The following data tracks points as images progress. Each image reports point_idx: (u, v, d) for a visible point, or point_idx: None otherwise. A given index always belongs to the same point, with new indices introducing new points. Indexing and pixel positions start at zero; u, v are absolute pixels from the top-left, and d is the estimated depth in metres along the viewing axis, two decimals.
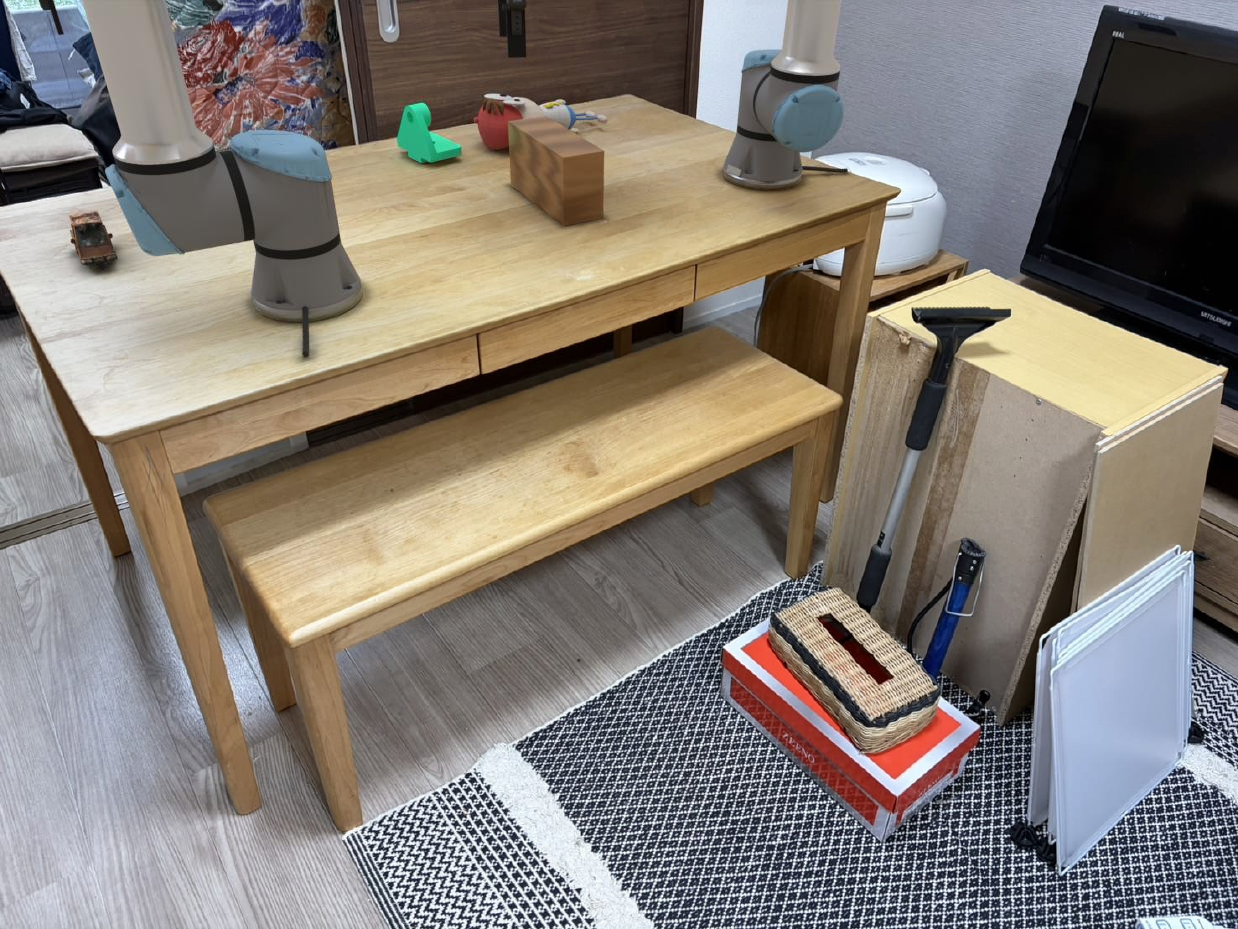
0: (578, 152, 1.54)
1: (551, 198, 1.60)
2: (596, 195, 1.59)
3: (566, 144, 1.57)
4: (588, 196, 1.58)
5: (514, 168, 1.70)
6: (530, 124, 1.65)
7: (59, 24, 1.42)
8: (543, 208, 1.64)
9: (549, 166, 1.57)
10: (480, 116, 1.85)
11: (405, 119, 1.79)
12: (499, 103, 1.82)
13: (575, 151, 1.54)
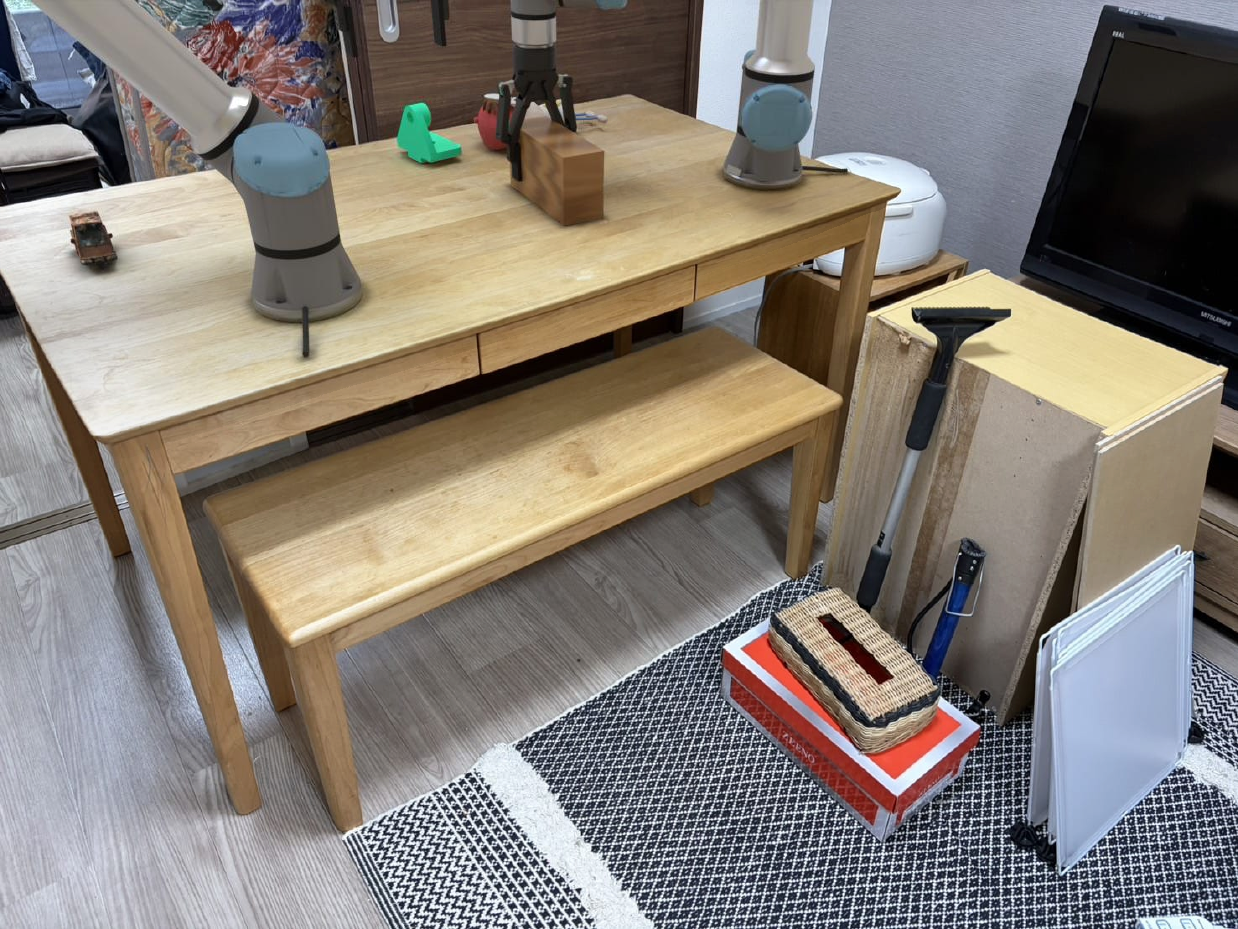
0: (578, 152, 1.54)
1: (551, 198, 1.60)
2: (596, 195, 1.59)
3: (566, 144, 1.57)
4: (588, 196, 1.58)
5: None
6: (530, 124, 1.65)
7: (355, 46, 1.31)
8: (543, 208, 1.64)
9: (549, 166, 1.57)
10: (480, 116, 1.85)
11: (405, 119, 1.79)
12: None
13: (575, 151, 1.54)
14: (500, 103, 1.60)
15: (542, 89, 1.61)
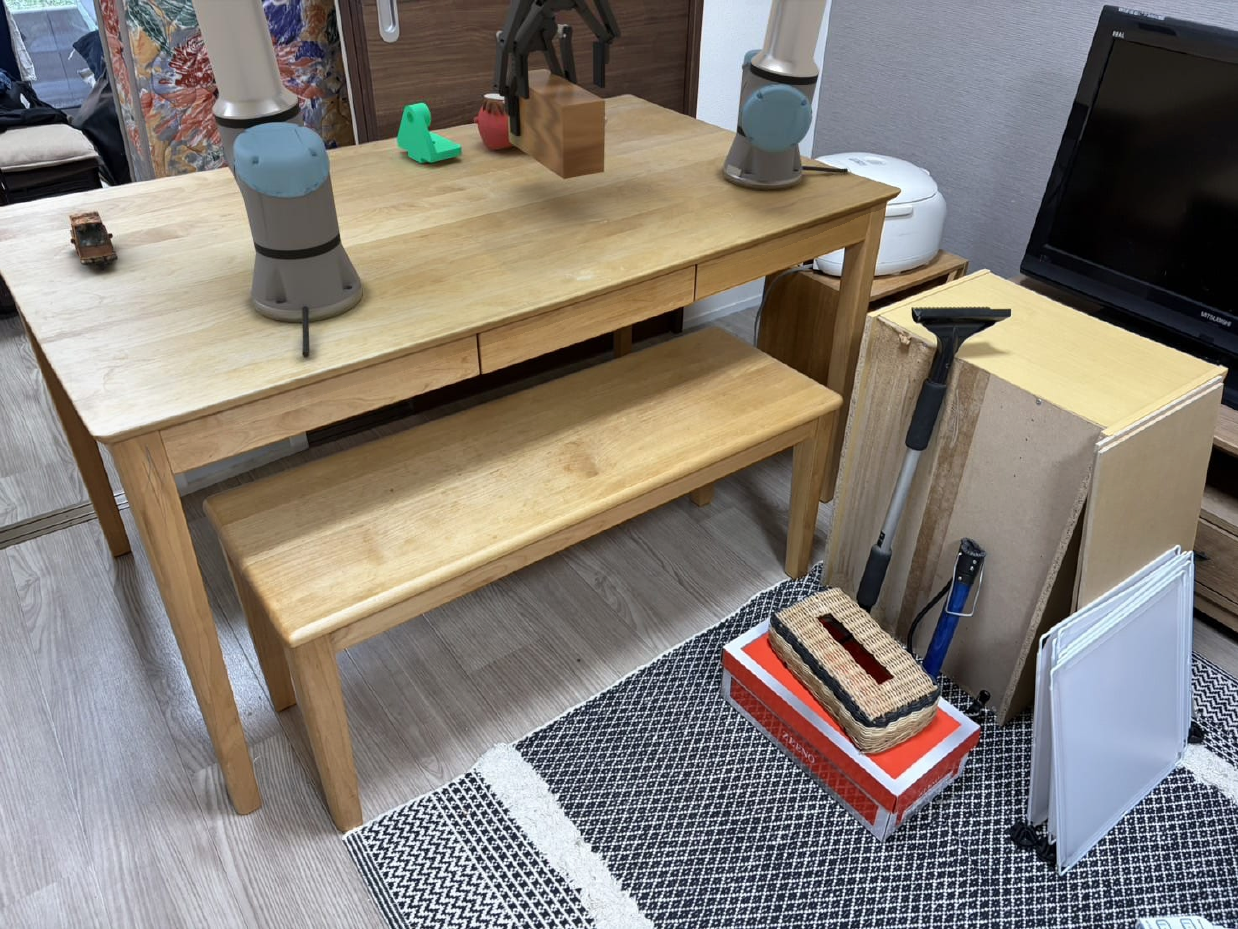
0: (578, 101, 1.49)
1: (550, 151, 1.55)
2: (596, 147, 1.54)
3: (566, 94, 1.52)
4: (588, 148, 1.53)
5: None
6: (528, 76, 1.60)
7: (527, 89, 1.44)
8: (542, 162, 1.59)
9: (549, 117, 1.52)
10: (480, 116, 1.85)
11: (405, 119, 1.79)
12: (499, 103, 1.82)
13: (575, 100, 1.49)
14: (498, 53, 1.55)
15: (541, 39, 1.56)
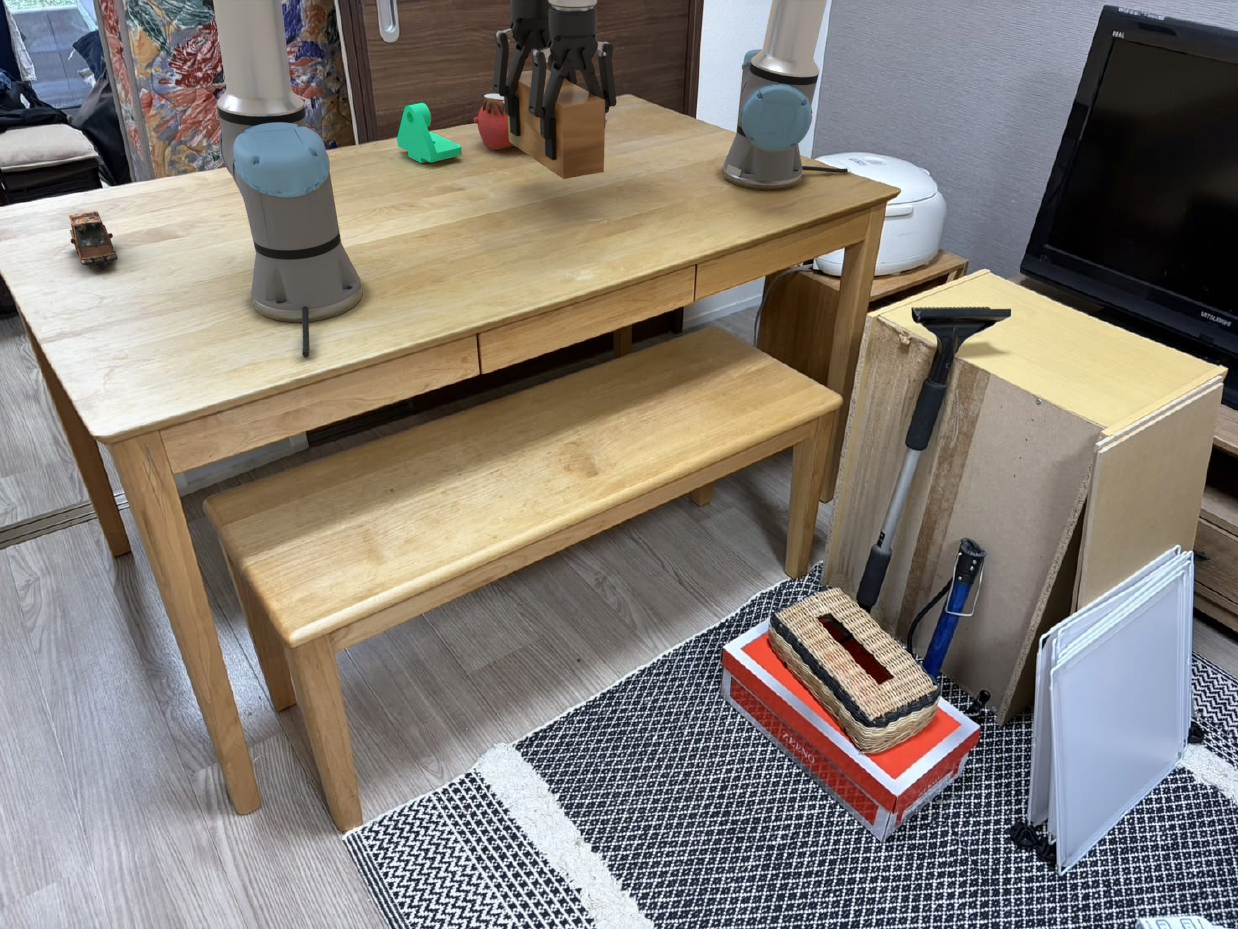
0: (577, 101, 1.49)
1: None
2: (596, 147, 1.54)
3: (566, 94, 1.52)
4: (588, 148, 1.53)
5: None
6: (528, 76, 1.60)
7: (555, 151, 1.53)
8: (542, 162, 1.59)
9: None
10: (480, 116, 1.85)
11: (405, 119, 1.79)
12: (499, 103, 1.82)
13: (575, 100, 1.49)
14: (498, 53, 1.55)
15: (541, 39, 1.56)
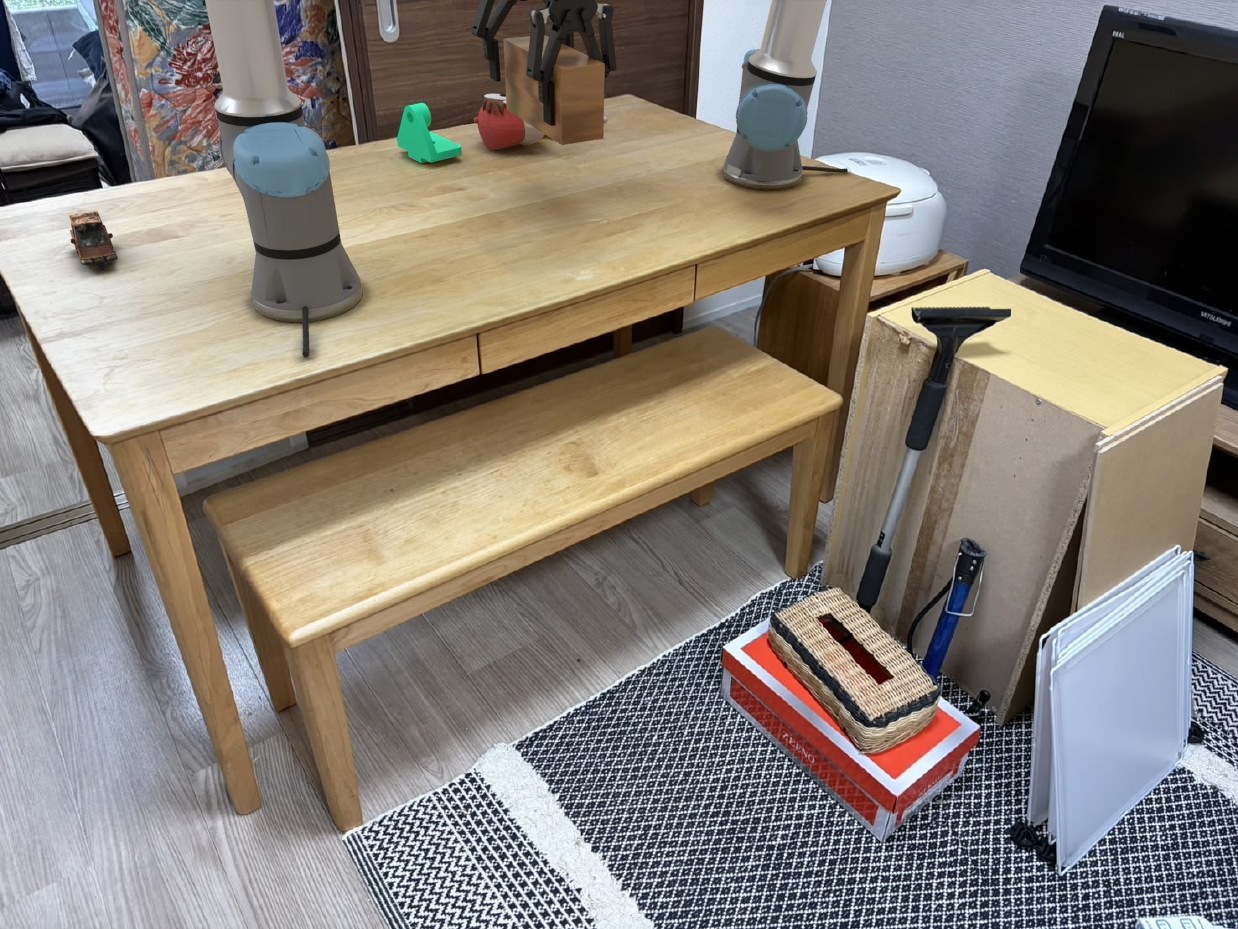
0: (577, 64, 1.45)
1: None
2: (596, 112, 1.50)
3: (564, 58, 1.48)
4: (587, 113, 1.50)
5: (510, 90, 1.61)
6: (526, 41, 1.57)
7: (553, 116, 1.50)
8: (540, 129, 1.55)
9: None
10: (480, 116, 1.85)
11: (405, 119, 1.79)
12: (499, 103, 1.82)
13: (574, 63, 1.46)
14: None
15: None
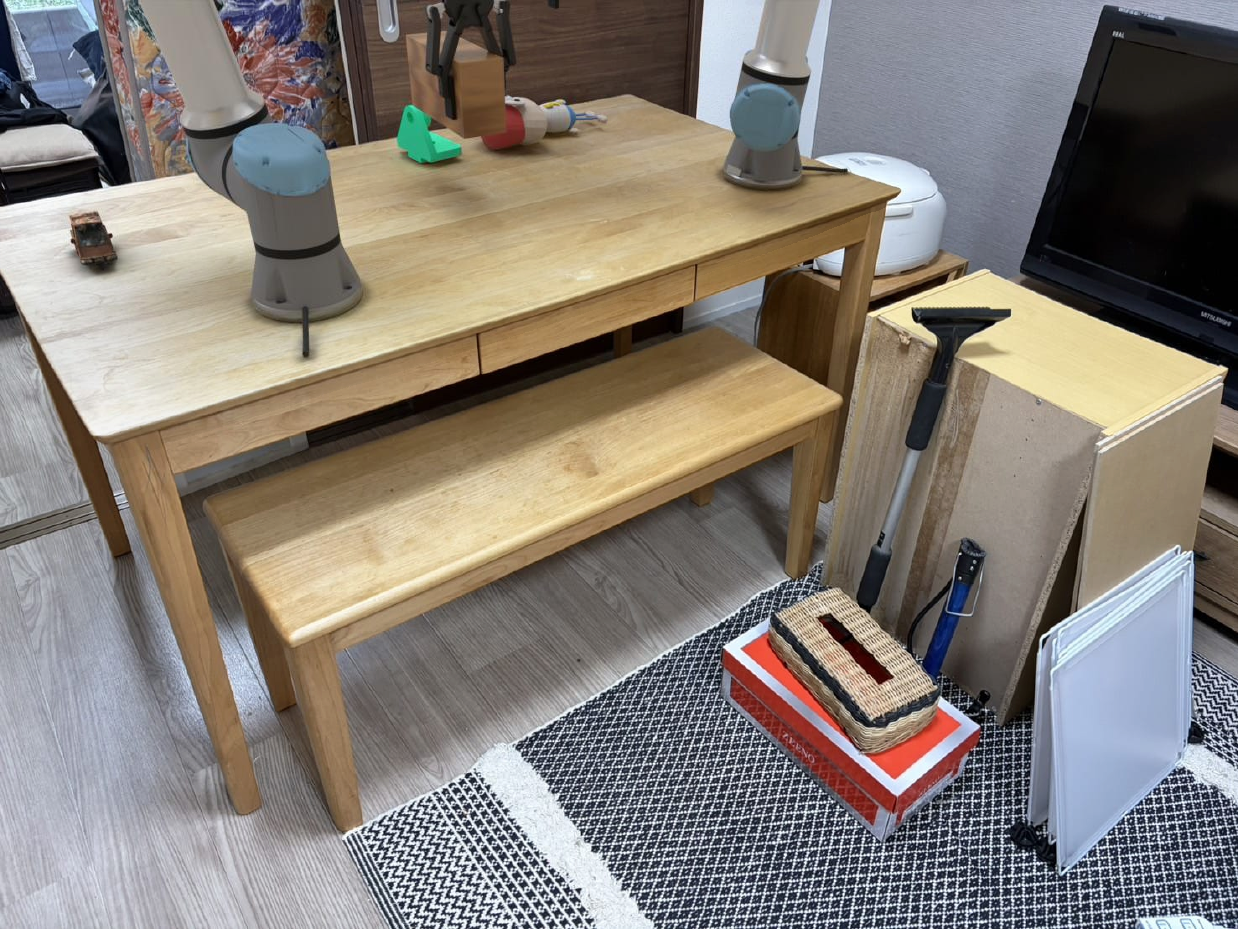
0: (475, 59, 1.47)
1: None
2: (497, 106, 1.52)
3: (464, 53, 1.50)
4: (489, 107, 1.52)
5: (414, 85, 1.63)
6: None
7: (455, 110, 1.51)
8: (444, 124, 1.57)
9: None
10: None
11: (405, 119, 1.79)
12: None
13: (472, 58, 1.48)
14: None
15: None
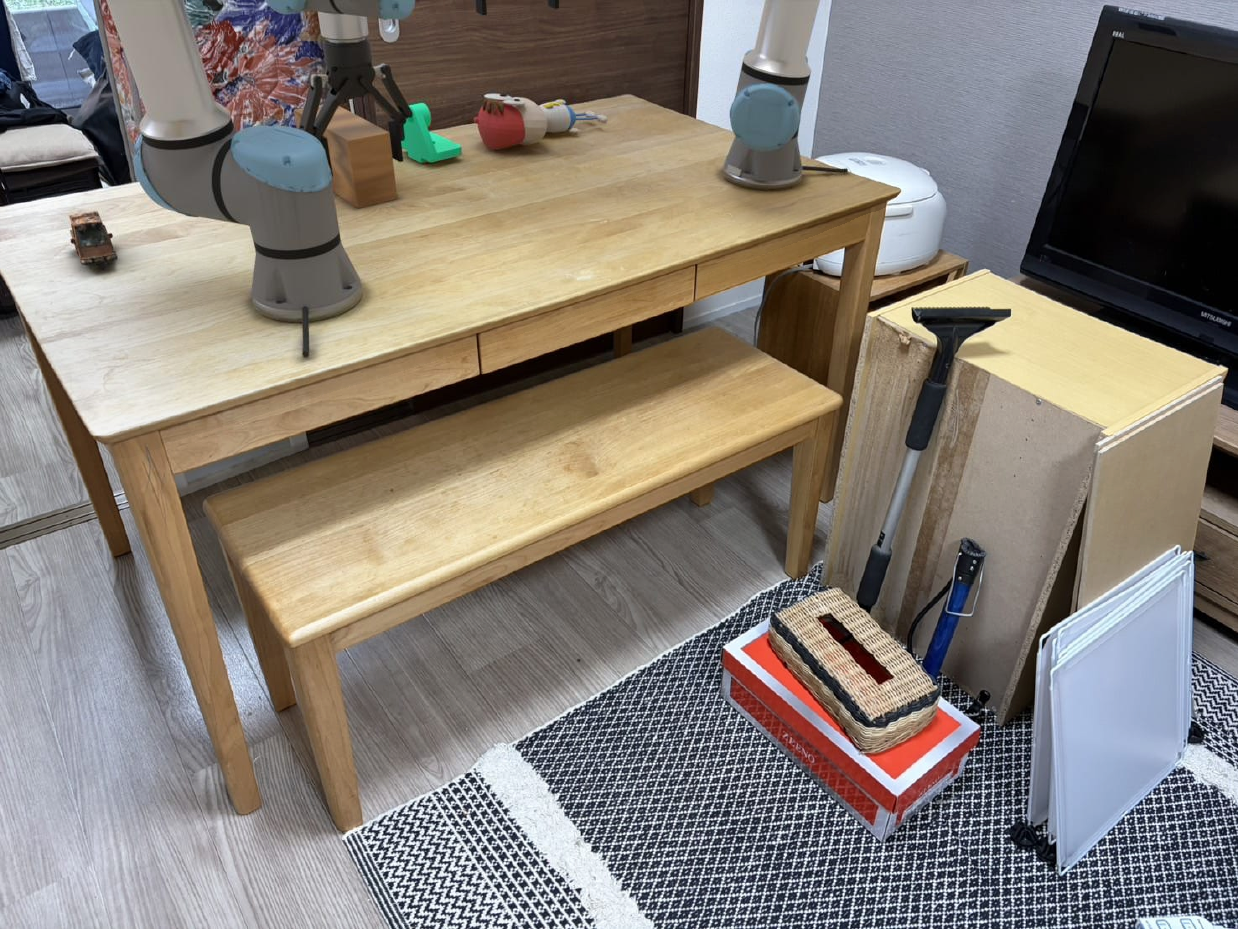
0: (363, 135, 1.58)
1: (343, 182, 1.63)
2: (387, 176, 1.63)
3: (352, 128, 1.61)
4: (379, 178, 1.62)
5: None
6: None
7: (330, 168, 1.58)
8: (337, 193, 1.67)
9: (337, 151, 1.60)
10: (480, 116, 1.85)
11: None
12: (499, 103, 1.82)
13: (360, 134, 1.58)
14: None
15: None
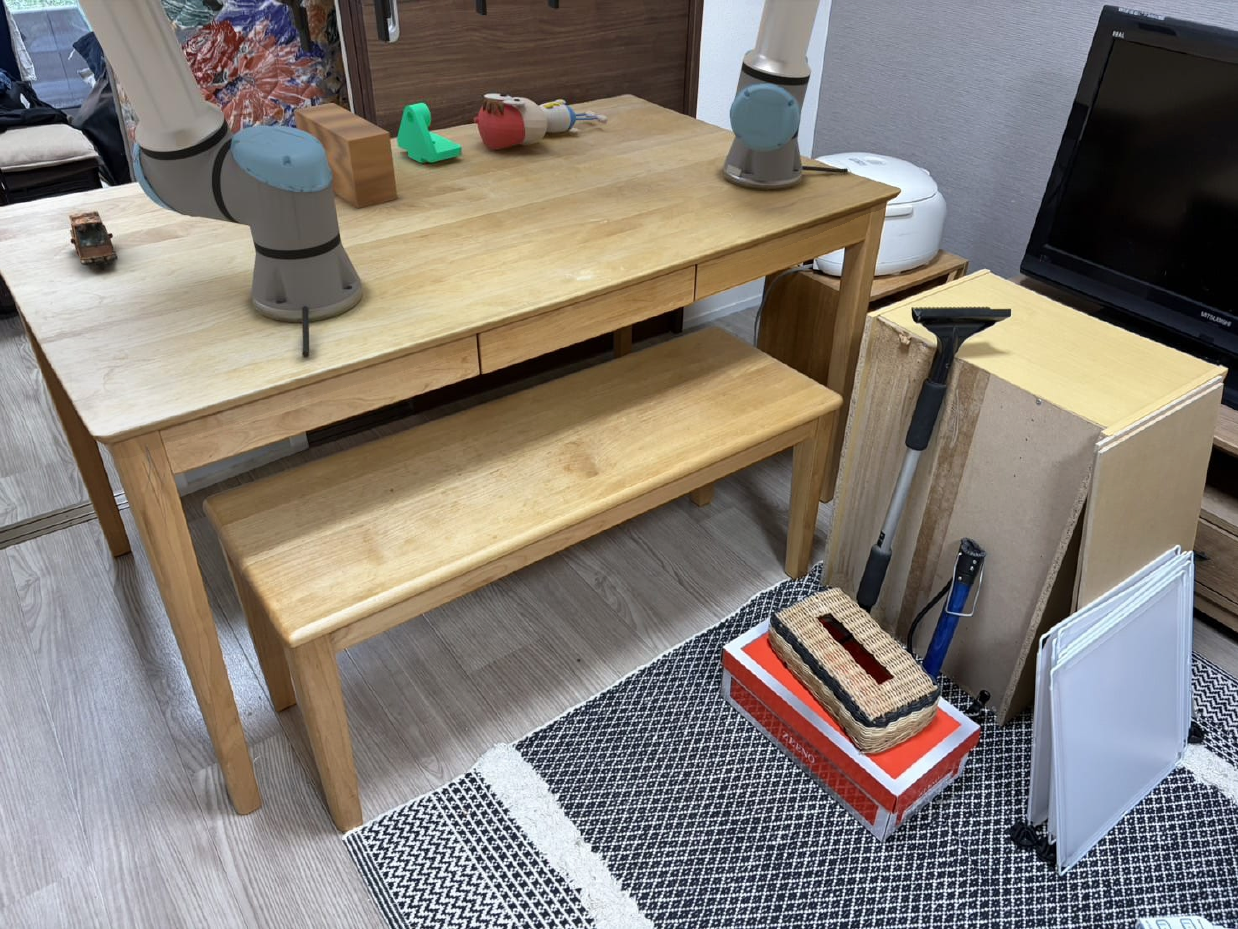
0: (363, 135, 1.58)
1: (343, 182, 1.63)
2: (387, 176, 1.63)
3: (352, 128, 1.61)
4: (379, 178, 1.62)
5: None
6: (316, 112, 1.68)
7: (310, 42, 1.47)
8: (337, 193, 1.67)
9: (337, 151, 1.60)
10: (480, 116, 1.85)
11: (405, 119, 1.79)
12: (499, 103, 1.82)
13: (360, 134, 1.58)
14: None
15: None
